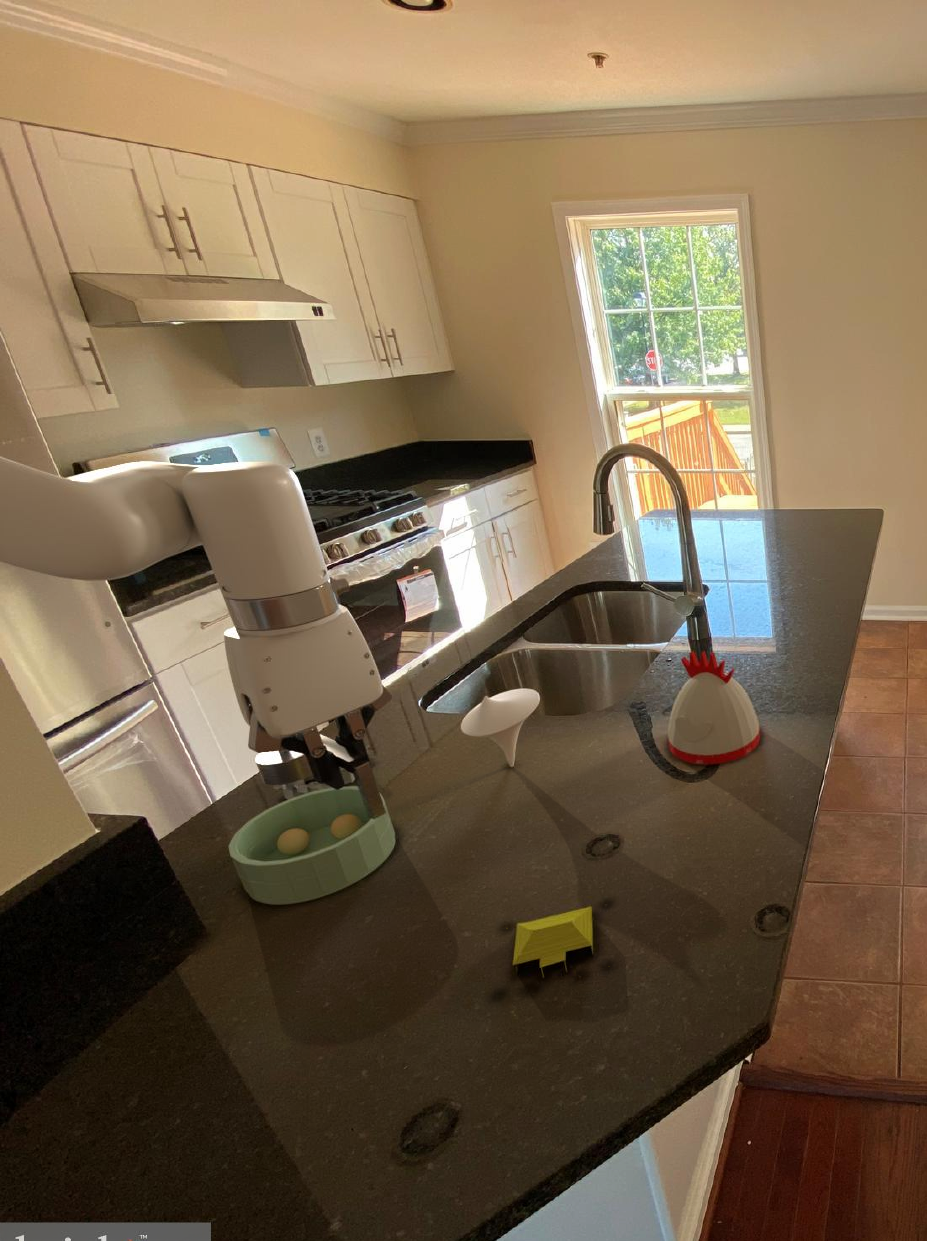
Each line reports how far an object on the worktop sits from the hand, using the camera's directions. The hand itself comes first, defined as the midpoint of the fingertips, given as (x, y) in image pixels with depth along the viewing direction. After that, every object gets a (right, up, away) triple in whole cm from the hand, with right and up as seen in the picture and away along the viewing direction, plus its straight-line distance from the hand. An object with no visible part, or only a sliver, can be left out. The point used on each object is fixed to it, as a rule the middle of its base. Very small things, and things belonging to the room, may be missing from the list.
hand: (345, 777), depth 69 cm
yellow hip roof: (+21, -18, +1) cm, 27 cm away
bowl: (-12, -12, +13) cm, 22 cm away
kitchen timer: (+29, -2, +39) cm, 48 cm away
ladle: (-4, -2, +3) cm, 6 cm away
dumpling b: (-11, -9, +16) cm, 21 cm away
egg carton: (-23, -6, +28) cm, 37 cm away
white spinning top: (+1, -5, +32) cm, 32 cm away
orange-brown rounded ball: (-16, -10, +13) cm, 23 cm away
